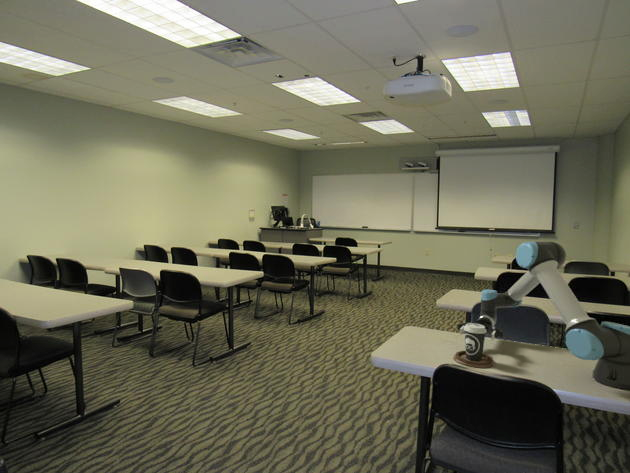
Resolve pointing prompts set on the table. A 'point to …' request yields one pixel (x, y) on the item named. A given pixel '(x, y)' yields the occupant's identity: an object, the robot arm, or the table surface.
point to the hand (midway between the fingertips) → (476, 334)
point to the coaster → (484, 363)
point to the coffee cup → (474, 341)
